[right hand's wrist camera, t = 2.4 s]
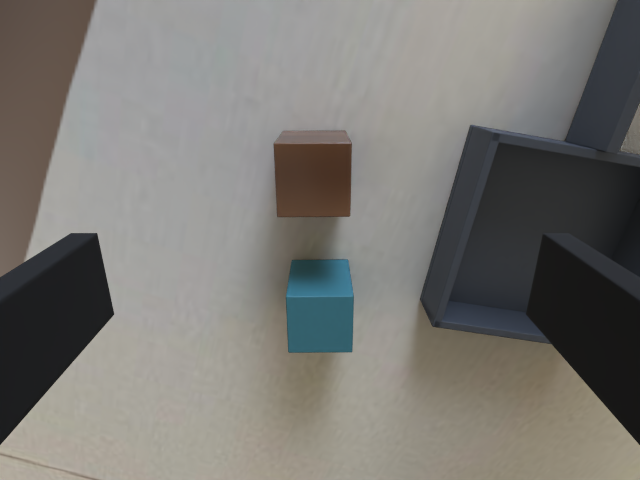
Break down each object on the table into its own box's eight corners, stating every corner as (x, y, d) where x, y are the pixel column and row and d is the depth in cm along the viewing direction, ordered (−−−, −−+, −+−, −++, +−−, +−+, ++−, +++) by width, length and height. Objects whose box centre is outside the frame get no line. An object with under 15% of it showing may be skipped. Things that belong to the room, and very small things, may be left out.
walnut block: (344, 192, 31) (350, 217, 25) (284, 192, 31) (277, 217, 25) (345, 130, 29) (351, 142, 24) (282, 131, 29) (273, 143, 24)
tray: (582, 323, 35) (622, 361, 30) (419, 299, 34) (435, 333, 30) (730, 3, 26) (818, -14, 22) (518, -40, 26) (562, -67, 21)
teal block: (347, 308, 35) (352, 352, 29) (293, 308, 35) (288, 352, 29) (348, 259, 33) (353, 295, 27) (291, 259, 33) (285, 296, 27)
